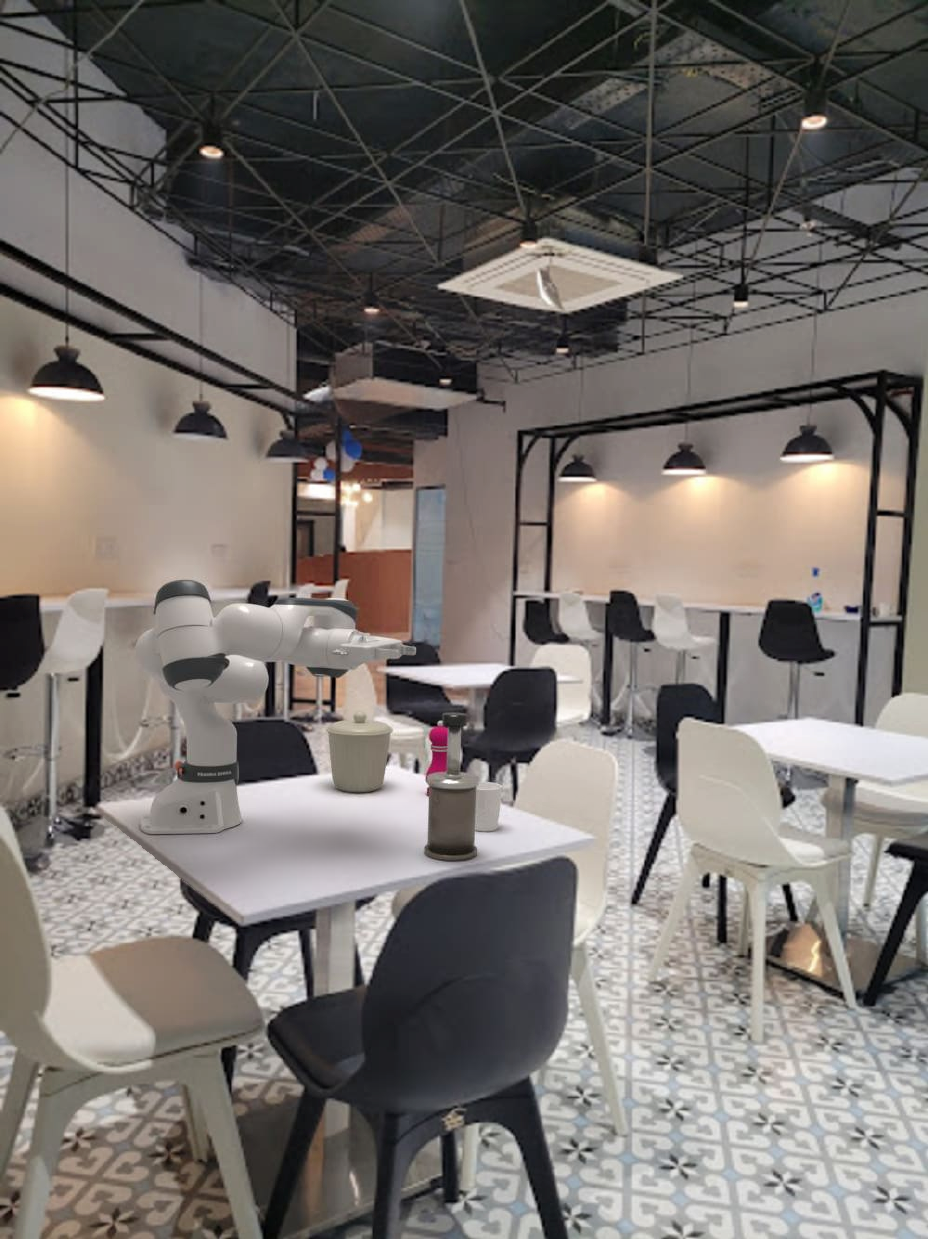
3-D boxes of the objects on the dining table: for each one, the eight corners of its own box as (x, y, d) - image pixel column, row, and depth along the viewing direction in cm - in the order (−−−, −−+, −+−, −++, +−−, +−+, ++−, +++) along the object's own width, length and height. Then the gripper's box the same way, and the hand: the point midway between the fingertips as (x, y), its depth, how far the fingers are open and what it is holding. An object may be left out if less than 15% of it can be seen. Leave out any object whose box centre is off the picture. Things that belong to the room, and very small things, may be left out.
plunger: (445, 777, 187) (447, 716, 186) (437, 771, 192) (439, 712, 191) (469, 775, 189) (470, 716, 188) (460, 770, 194) (462, 712, 193)
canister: (378, 779, 258) (380, 705, 256) (401, 793, 241) (403, 715, 240) (316, 783, 250) (318, 707, 249) (336, 799, 233) (338, 718, 232)
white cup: (504, 825, 214) (505, 783, 213) (494, 834, 206) (496, 791, 206) (472, 821, 216) (474, 780, 216) (462, 830, 209) (463, 787, 208)
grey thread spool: (434, 863, 184) (436, 781, 183) (417, 847, 195) (419, 769, 194) (485, 858, 188) (487, 778, 187) (465, 843, 199) (468, 766, 198)
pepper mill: (453, 792, 244) (455, 719, 243) (450, 799, 237) (452, 723, 236) (426, 791, 245) (429, 718, 244) (423, 797, 238) (425, 722, 237)
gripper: (327, 637, 186) (389, 641, 182) (366, 632, 206) (423, 635, 202) (326, 668, 187) (388, 672, 183) (365, 659, 206) (422, 663, 202)
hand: (407, 652), depth 192 cm, fingers open, 8 cm apart
